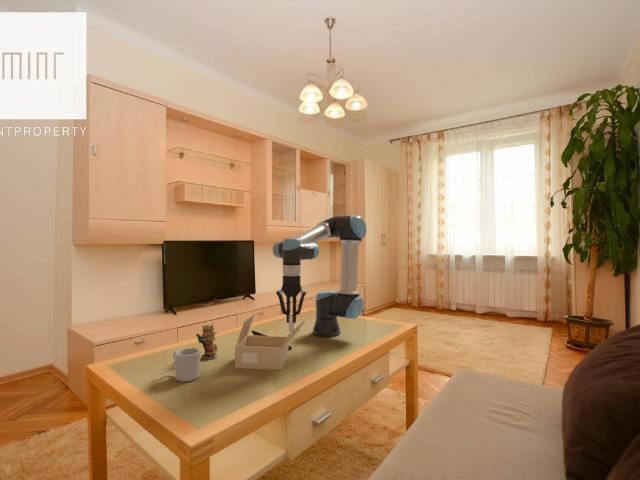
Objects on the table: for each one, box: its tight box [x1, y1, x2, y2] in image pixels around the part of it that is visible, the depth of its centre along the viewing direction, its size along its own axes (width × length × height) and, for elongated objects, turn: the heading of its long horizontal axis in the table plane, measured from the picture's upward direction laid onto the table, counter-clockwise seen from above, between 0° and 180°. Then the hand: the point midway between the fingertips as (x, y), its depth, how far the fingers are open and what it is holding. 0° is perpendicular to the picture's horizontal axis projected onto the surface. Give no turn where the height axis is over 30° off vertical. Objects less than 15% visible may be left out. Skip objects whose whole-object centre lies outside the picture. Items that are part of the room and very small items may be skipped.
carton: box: [234, 334, 289, 371], centre depth 143 cm, size 15×19×9 cm
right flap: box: [282, 320, 306, 346], centre depth 142 cm, size 13×1×10 cm
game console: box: [251, 330, 292, 351], centre depth 160 cm, size 16×14×9 cm
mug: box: [172, 347, 202, 383], centre depth 128 cm, size 12×9×10 cm
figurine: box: [196, 324, 218, 361], centre depth 148 cm, size 9×8×15 cm
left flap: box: [236, 313, 256, 345], centre depth 143 cm, size 13×1×10 cm, turn 175°
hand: (291, 330), depth 142 cm, fingers closed
